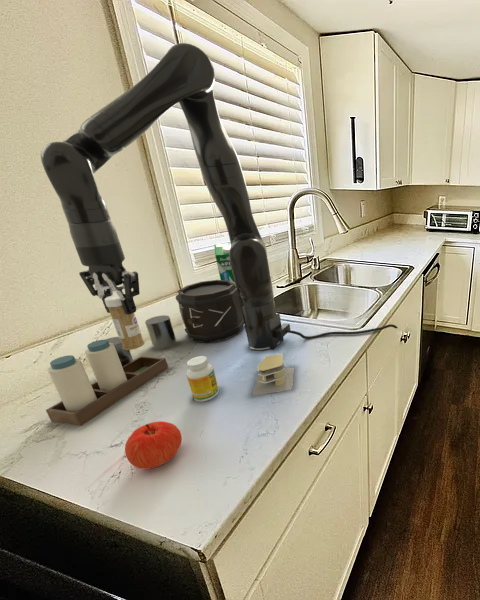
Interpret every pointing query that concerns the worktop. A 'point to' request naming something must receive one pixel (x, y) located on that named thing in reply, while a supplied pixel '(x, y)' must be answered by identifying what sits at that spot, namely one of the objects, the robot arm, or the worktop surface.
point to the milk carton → (224, 261)
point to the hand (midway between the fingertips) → (122, 312)
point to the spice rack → (136, 377)
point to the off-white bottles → (75, 380)
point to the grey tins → (158, 333)
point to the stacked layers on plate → (273, 376)
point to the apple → (153, 444)
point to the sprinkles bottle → (124, 324)
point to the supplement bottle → (202, 379)
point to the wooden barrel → (210, 310)
